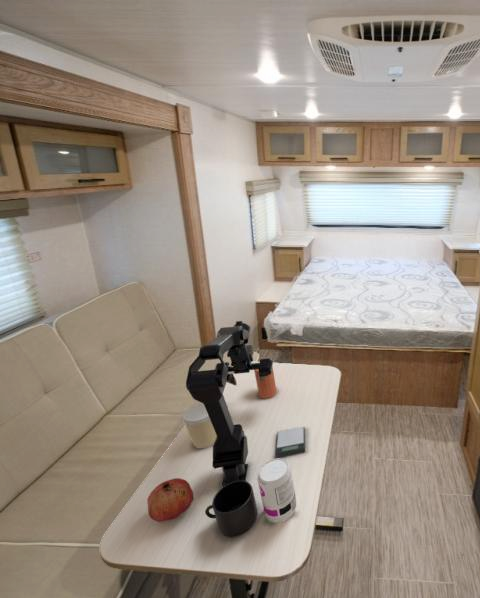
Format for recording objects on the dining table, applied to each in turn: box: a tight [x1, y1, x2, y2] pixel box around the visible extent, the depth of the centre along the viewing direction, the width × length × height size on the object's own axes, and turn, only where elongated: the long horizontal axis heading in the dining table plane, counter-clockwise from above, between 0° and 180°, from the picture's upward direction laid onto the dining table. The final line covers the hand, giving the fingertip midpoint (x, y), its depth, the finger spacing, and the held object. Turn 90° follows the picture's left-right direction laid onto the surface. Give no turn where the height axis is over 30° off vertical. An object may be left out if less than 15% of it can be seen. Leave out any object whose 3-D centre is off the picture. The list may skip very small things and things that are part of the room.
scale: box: [275, 426, 306, 458], centre depth 115 cm, size 10×9×2 cm
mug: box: [204, 480, 259, 538], centre depth 89 cm, size 9×12×9 cm
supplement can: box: [257, 458, 297, 524], centre depth 90 cm, size 8×8×15 cm
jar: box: [253, 365, 277, 400], centre depth 137 cm, size 7×7×13 cm
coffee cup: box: [182, 403, 217, 449], centre depth 114 cm, size 9×9×12 cm
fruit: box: [147, 477, 195, 523], centre depth 91 cm, size 11×10×10 cm
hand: (249, 382), depth 126 cm, fingers open, 9 cm apart
